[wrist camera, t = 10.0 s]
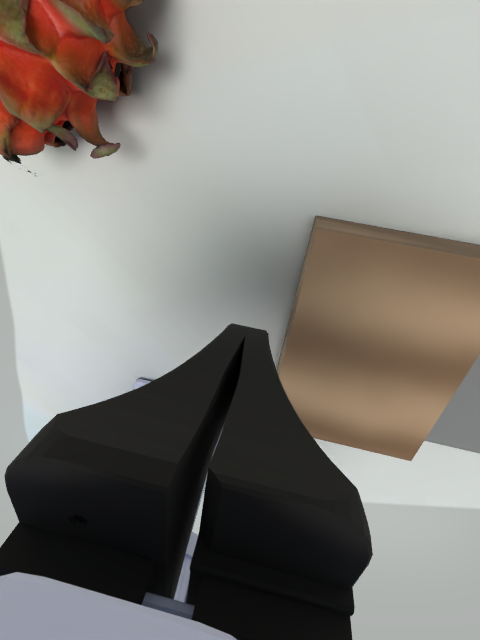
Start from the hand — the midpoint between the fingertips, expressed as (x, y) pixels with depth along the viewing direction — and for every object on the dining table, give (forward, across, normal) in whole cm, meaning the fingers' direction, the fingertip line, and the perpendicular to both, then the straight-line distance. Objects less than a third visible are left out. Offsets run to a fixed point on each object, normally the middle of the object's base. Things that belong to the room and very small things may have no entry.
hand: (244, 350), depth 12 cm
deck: (+10, -7, +4) cm, 13 cm away
